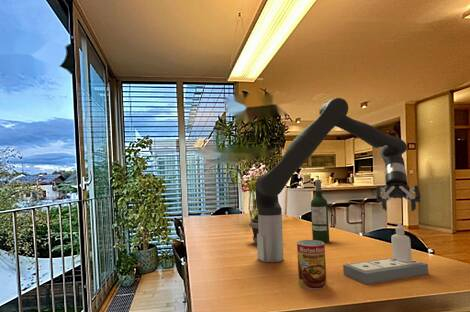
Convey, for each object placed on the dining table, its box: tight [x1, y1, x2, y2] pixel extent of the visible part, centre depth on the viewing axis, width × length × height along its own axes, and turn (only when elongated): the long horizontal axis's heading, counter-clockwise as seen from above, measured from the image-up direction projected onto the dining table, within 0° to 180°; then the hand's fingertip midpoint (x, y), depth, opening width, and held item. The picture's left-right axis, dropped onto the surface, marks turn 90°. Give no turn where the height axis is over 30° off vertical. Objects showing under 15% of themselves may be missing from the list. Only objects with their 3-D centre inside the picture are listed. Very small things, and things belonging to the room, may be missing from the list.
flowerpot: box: [248, 212, 259, 245], centre depth 147 cm, size 14×15×20 cm
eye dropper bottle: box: [391, 222, 413, 262], centre depth 99 cm, size 4×6×12 cm
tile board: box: [342, 257, 429, 285], centre depth 96 cm, size 24×10×3 cm, turn 108°
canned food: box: [296, 239, 328, 290], centre depth 89 cm, size 8×8×12 cm
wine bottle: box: [310, 179, 330, 244], centre depth 148 cm, size 8×8×30 cm
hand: (399, 209), depth 108 cm, fingers open, 8 cm apart
